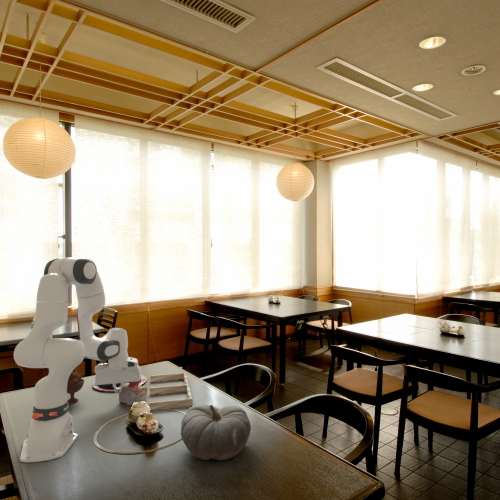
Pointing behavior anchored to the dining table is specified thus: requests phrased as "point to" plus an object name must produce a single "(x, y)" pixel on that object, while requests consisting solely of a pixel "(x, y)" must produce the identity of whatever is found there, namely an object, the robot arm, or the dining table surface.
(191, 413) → the gourd
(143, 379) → the chocolate cake
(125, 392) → the food item
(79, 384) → the ice cream bowl
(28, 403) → the dining table surface
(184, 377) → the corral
